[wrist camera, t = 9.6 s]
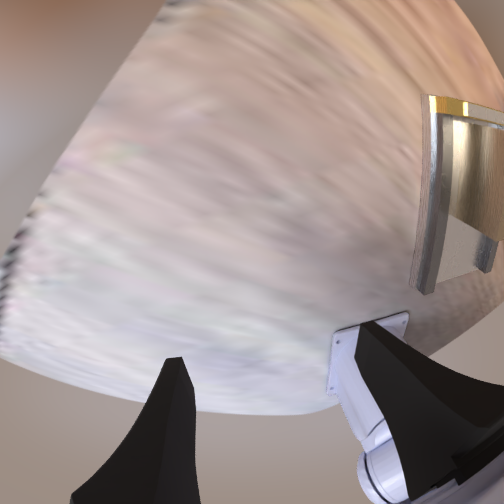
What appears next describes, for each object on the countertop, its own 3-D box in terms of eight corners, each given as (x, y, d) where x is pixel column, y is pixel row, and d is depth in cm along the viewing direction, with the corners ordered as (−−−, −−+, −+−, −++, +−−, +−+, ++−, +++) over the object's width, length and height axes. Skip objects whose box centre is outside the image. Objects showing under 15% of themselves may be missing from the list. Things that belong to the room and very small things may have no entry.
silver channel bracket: (480, 262, 24) (496, 274, 21) (408, 284, 23) (425, 300, 20) (497, 112, 17) (517, 115, 14) (420, 94, 16) (445, 94, 13)
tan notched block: (460, 121, 16) (508, 131, 11) (486, 126, 16) (530, 137, 12) (454, 217, 19) (496, 241, 15) (480, 213, 20) (518, 234, 15)
